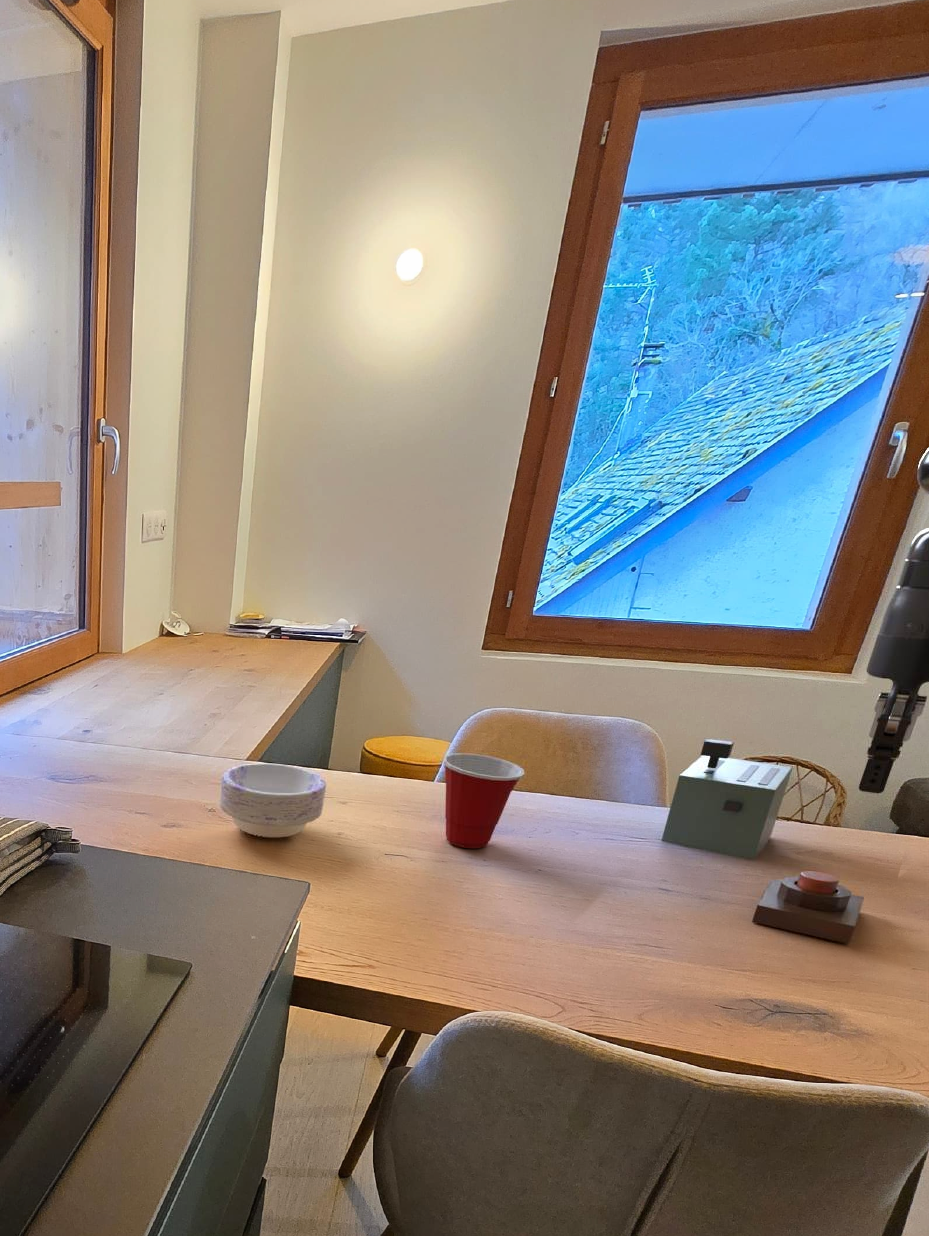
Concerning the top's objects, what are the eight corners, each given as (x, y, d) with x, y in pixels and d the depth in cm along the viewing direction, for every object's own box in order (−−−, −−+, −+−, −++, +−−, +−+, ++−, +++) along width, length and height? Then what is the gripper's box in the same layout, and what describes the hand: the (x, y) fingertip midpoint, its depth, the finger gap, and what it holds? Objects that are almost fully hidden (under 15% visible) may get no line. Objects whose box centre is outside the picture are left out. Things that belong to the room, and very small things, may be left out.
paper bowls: (336, 842, 135) (343, 790, 132) (236, 849, 134) (240, 796, 130) (298, 807, 149) (303, 759, 145) (206, 813, 147) (209, 764, 144)
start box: (767, 894, 118) (777, 864, 116) (857, 913, 112) (869, 882, 110) (751, 922, 109) (761, 890, 108) (848, 944, 104) (860, 911, 102)
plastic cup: (518, 857, 130) (536, 775, 125) (437, 853, 132) (452, 772, 127) (497, 829, 140) (513, 752, 135) (422, 826, 141) (435, 749, 136)
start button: (798, 882, 112) (802, 868, 111) (835, 889, 109) (840, 875, 109) (794, 890, 109) (798, 876, 108) (832, 898, 107) (837, 884, 106)
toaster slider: (700, 764, 133) (707, 738, 132) (726, 768, 131) (734, 742, 130) (697, 766, 132) (704, 741, 130) (723, 770, 130) (731, 744, 128)
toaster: (684, 823, 145) (703, 753, 140) (769, 839, 138) (793, 766, 134) (657, 851, 133) (678, 775, 128) (749, 869, 126) (775, 790, 122)
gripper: (972, 641, 91) (911, 810, 98) (973, 629, 100) (916, 785, 107) (874, 635, 96) (822, 797, 103) (883, 624, 105) (834, 774, 112)
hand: (870, 790), depth 105 cm, fingers closed
